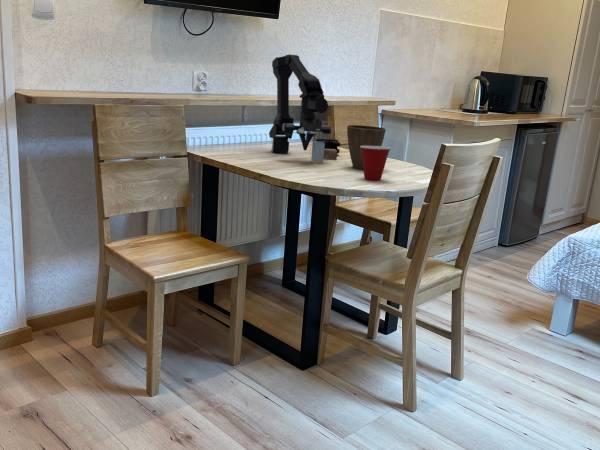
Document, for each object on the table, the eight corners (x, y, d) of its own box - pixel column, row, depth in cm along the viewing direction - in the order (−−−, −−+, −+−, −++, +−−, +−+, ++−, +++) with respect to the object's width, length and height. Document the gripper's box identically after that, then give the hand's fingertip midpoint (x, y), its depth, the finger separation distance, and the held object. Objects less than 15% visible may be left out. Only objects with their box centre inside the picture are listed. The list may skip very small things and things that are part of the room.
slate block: (313, 162, 236) (314, 142, 234) (311, 161, 240) (312, 141, 238) (323, 163, 237) (324, 143, 235) (320, 161, 241) (322, 141, 238)
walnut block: (318, 149, 244) (337, 150, 246) (316, 148, 248) (334, 149, 250) (318, 159, 245) (336, 160, 247) (315, 157, 249) (334, 158, 251)
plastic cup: (378, 176, 218) (382, 143, 214) (392, 182, 208) (396, 148, 205) (352, 176, 214) (355, 142, 211) (365, 182, 204) (368, 147, 201)
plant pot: (337, 164, 236) (340, 124, 232) (370, 164, 241) (374, 125, 237) (353, 171, 223) (357, 129, 219) (388, 172, 228) (393, 130, 224)
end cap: (334, 153, 265) (335, 138, 263) (340, 156, 258) (341, 141, 256) (313, 153, 262) (314, 137, 260) (318, 155, 255) (319, 140, 253)
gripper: (288, 111, 222) (285, 152, 227) (336, 114, 226) (332, 154, 230) (283, 108, 233) (280, 148, 237) (329, 111, 237) (325, 150, 241)
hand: (304, 150), depth 236 cm, fingers closed
